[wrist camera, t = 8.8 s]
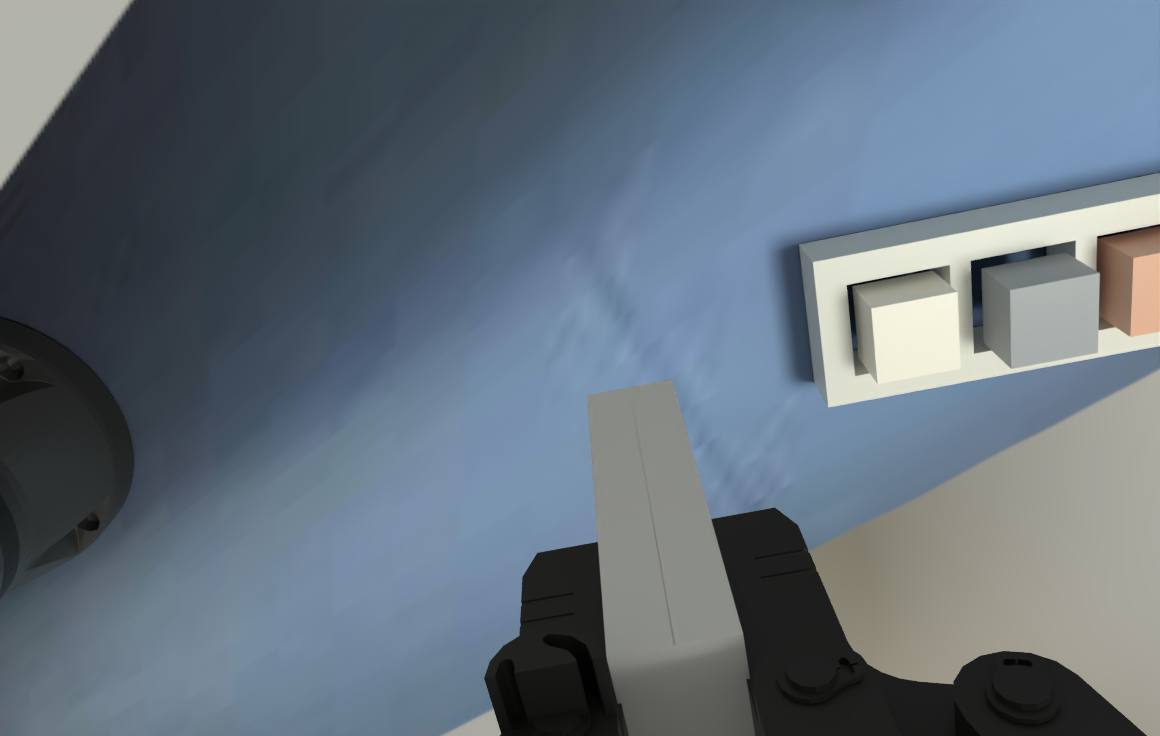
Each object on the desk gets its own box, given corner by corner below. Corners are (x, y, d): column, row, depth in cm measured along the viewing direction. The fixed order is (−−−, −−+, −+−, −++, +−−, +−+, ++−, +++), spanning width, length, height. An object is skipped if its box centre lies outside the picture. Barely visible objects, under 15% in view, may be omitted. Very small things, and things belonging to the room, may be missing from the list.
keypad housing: (814, 382, 51) (828, 407, 48) (798, 244, 48) (813, 262, 45) (1189, 312, 49) (1225, 333, 47) (1199, 164, 46) (1239, 178, 43)
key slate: (983, 342, 47) (1011, 369, 44) (981, 268, 45) (1009, 290, 42) (1064, 327, 46) (1097, 352, 43) (1065, 252, 45) (1099, 273, 42)
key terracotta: (1095, 313, 47) (1130, 337, 44) (1097, 238, 45) (1133, 258, 43) (1176, 298, 47) (1216, 321, 44) (1180, 222, 45) (1223, 240, 42)
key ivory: (858, 358, 48) (877, 384, 45) (852, 286, 46) (871, 308, 43) (936, 343, 48) (960, 368, 45) (932, 270, 46) (957, 291, 43)
